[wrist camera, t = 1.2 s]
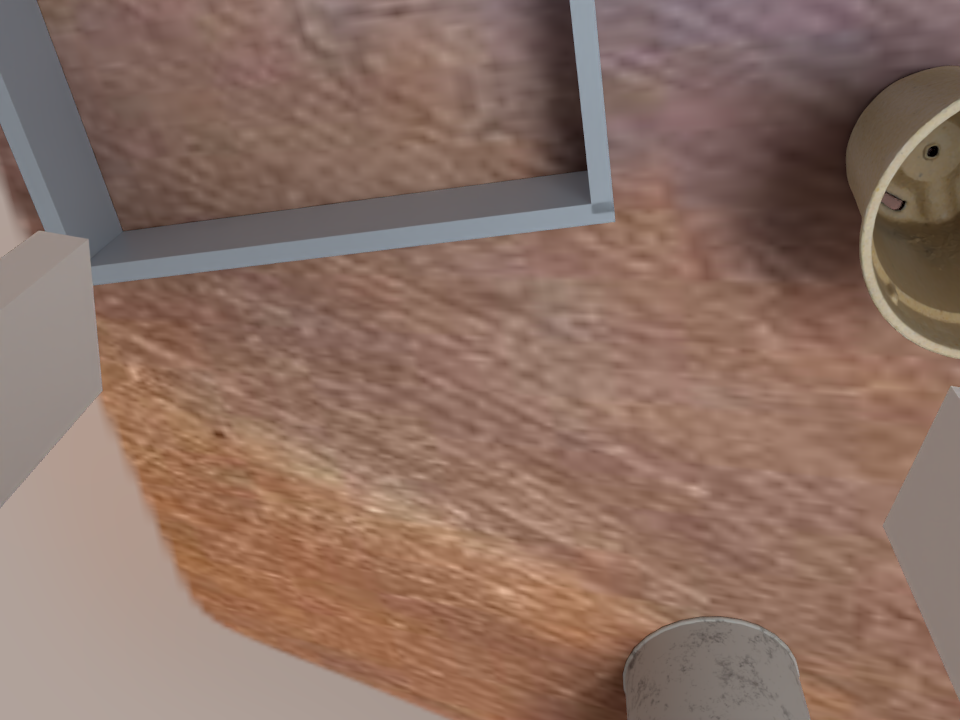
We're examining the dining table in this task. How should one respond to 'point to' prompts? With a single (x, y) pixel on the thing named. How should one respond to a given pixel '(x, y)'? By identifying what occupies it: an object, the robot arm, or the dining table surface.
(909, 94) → the flower pot
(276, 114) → the dining table surface
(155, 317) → the dining table surface
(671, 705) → the concrete cylinder
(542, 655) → the dining table surface
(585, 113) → the bin
